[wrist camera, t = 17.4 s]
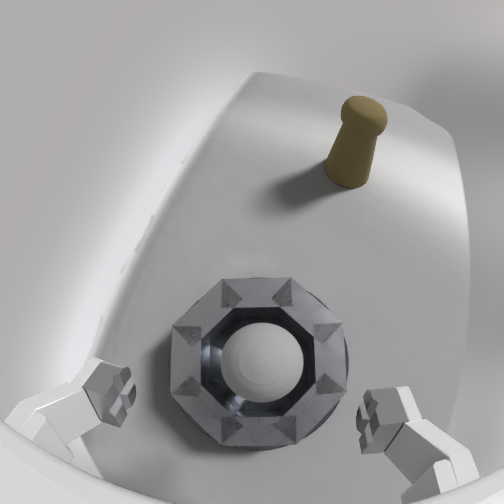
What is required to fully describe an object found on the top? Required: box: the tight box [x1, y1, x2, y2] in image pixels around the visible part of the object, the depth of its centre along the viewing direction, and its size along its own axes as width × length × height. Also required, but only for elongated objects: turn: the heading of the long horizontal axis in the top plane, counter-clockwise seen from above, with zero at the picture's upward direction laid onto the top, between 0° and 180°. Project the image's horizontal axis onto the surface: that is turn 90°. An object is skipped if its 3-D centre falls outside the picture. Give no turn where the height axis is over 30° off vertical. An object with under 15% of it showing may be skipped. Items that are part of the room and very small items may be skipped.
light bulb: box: [221, 323, 303, 403], centre depth 20 cm, size 6×5×10 cm
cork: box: [325, 96, 387, 188], centre depth 29 cm, size 6×6×11 cm
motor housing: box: [169, 277, 348, 450], centre depth 23 cm, size 17×17×5 cm
